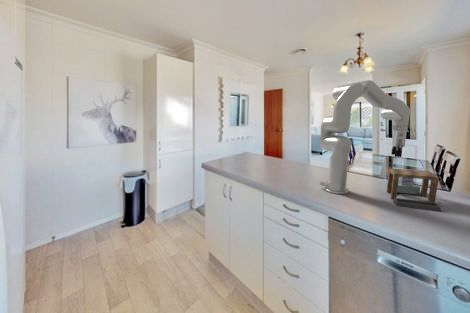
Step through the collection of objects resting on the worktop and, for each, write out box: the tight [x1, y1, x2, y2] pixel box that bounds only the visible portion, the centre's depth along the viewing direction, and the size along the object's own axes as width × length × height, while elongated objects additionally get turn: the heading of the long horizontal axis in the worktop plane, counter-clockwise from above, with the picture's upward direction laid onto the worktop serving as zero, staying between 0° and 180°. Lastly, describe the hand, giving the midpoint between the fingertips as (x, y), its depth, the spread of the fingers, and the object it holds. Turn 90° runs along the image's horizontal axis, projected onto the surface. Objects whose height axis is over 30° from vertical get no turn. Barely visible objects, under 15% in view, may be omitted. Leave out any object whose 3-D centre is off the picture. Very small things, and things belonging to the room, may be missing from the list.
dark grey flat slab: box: [393, 197, 442, 212], centre depth 101 cm, size 16×6×2 cm, turn 64°
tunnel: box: [386, 167, 440, 203], centre depth 110 cm, size 17×13×14 cm
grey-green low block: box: [383, 178, 421, 195], centre depth 128 cm, size 12×25×7 cm, turn 154°
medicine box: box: [398, 177, 415, 186], centre depth 121 cm, size 8×4×9 cm, turn 101°
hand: (396, 155), depth 135 cm, fingers open, 9 cm apart
